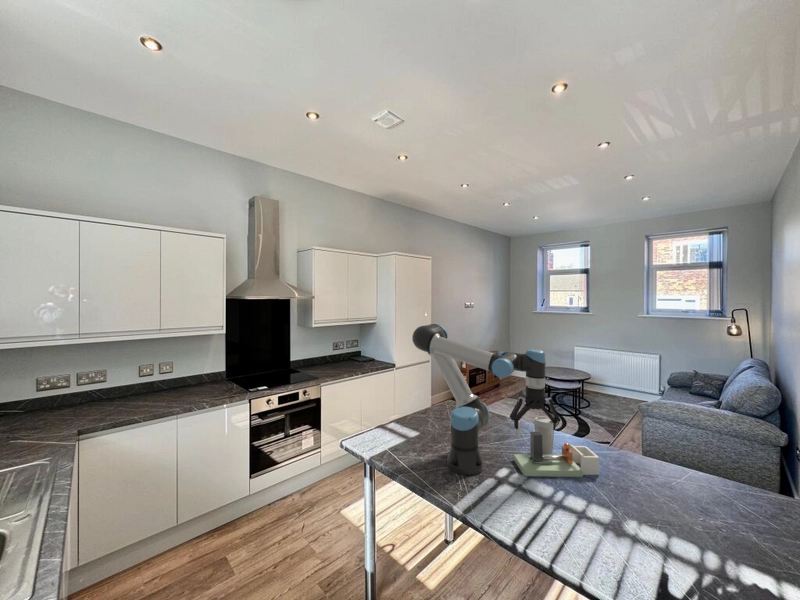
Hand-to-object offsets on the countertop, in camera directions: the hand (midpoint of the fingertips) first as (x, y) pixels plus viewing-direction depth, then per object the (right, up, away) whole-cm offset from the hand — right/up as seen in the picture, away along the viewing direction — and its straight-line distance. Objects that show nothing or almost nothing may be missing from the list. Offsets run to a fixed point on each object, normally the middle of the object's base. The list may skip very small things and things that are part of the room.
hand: (534, 436), depth 132 cm
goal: (+20, -13, -1) cm, 24 cm away
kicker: (+7, -10, -1) cm, 12 cm away
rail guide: (+2, -10, 0) cm, 11 cm away
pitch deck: (+5, -13, -1) cm, 14 cm away
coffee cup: (+11, -13, +14) cm, 22 cm away
